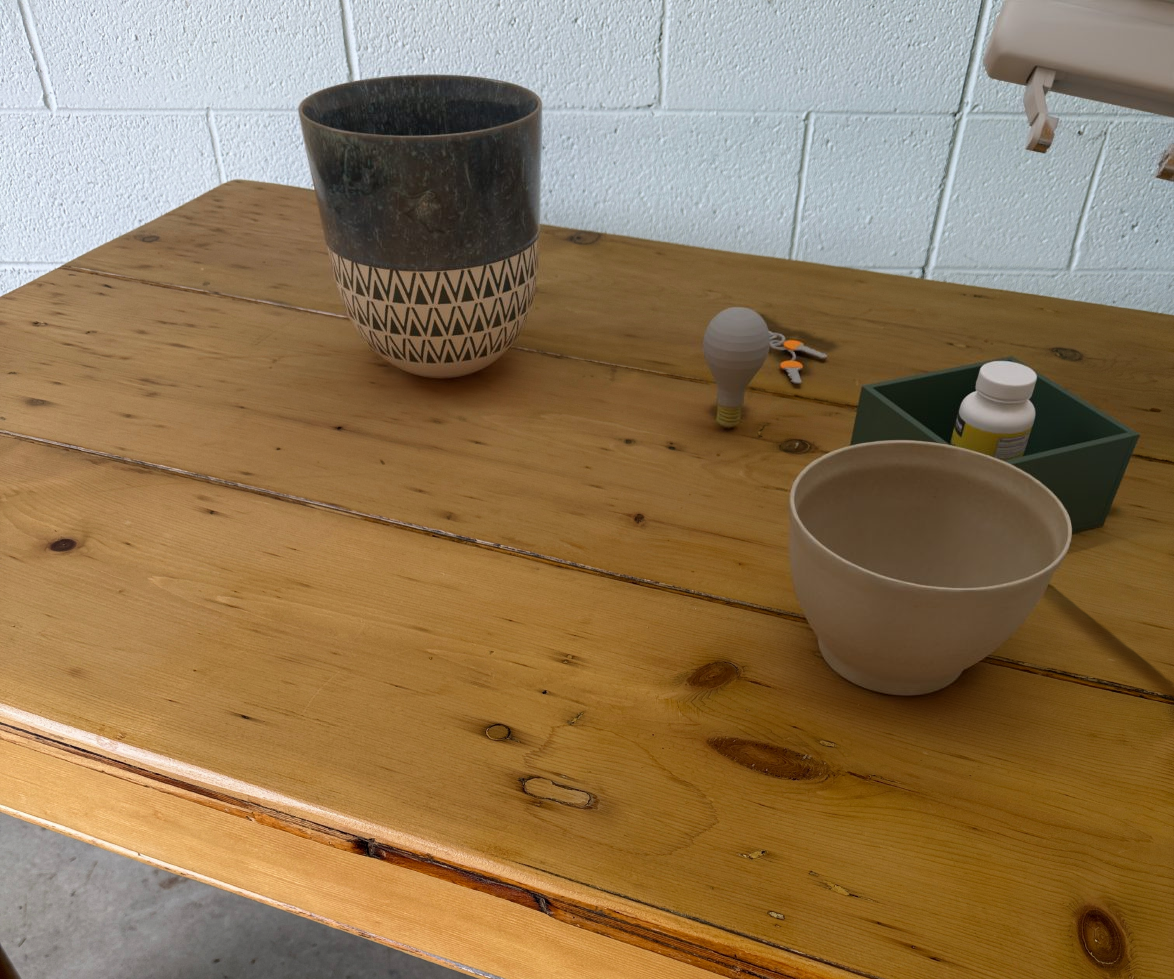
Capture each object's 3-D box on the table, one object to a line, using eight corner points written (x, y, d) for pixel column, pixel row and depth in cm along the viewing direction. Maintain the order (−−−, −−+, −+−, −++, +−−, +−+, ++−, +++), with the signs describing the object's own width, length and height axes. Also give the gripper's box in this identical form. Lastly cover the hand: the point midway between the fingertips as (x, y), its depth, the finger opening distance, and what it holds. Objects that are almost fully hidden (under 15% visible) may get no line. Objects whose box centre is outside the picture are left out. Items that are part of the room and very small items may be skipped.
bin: (986, 442, 90) (1011, 355, 84) (1103, 526, 80) (1140, 434, 75) (843, 474, 86) (861, 385, 80) (950, 565, 76) (977, 471, 71)
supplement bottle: (924, 482, 84) (955, 361, 77) (982, 472, 85) (1018, 351, 78) (962, 517, 80) (998, 393, 73) (1022, 505, 81) (1064, 382, 74)
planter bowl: (717, 651, 69) (734, 504, 62) (860, 556, 77) (891, 415, 70) (927, 775, 61) (977, 624, 54) (1062, 654, 69) (1123, 508, 62)
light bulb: (763, 416, 93) (778, 300, 86) (753, 445, 89) (768, 326, 82) (702, 408, 94) (712, 292, 87) (690, 437, 90) (700, 318, 83)
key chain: (702, 341, 103) (703, 332, 103) (757, 324, 107) (758, 315, 106) (793, 388, 96) (794, 379, 96) (849, 368, 99) (851, 359, 99)
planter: (303, 393, 95) (250, 122, 80) (398, 313, 108) (367, 66, 93) (502, 427, 91) (486, 147, 76) (576, 339, 104) (575, 84, 89)
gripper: (1031, -106, 71) (971, 108, 73) (1336, -44, 70) (1267, 172, 72) (1003, -44, 77) (948, 152, 79) (1282, 14, 76) (1220, 211, 78)
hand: (1102, 162), depth 75 cm, fingers open, 8 cm apart
